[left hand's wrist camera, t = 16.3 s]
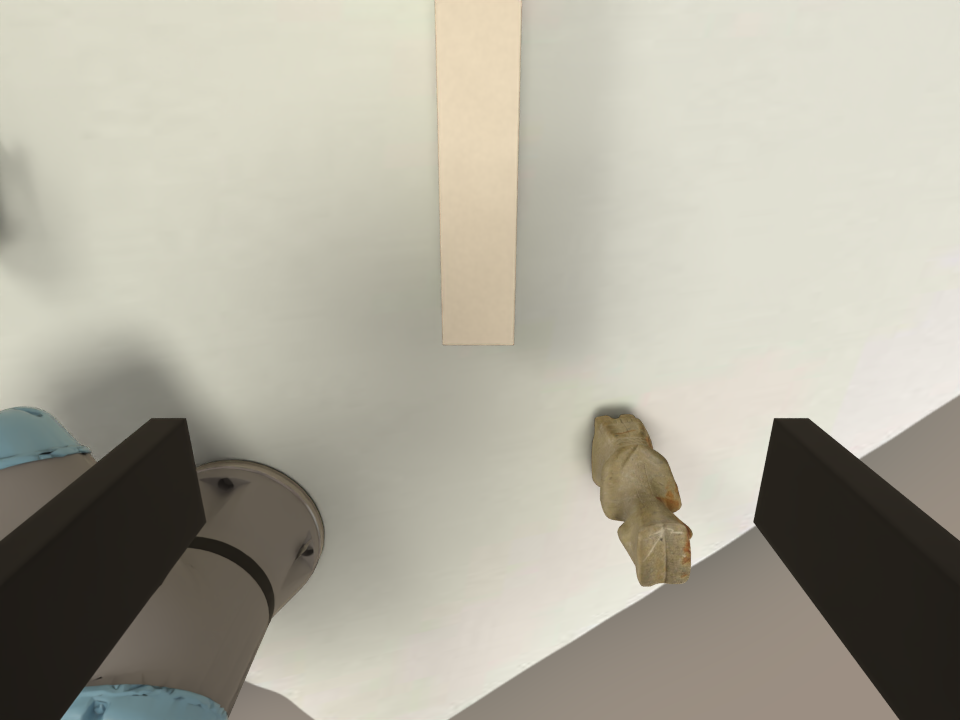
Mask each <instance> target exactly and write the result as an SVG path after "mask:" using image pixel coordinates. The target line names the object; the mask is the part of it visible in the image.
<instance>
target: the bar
mask: <svg viewBox="0 0 960 720" xmlns="http://www.w3.org/2000/svg"><path fill="white" fill-rule="evenodd" d="M521 19H522V0H435V34H436V78H437V121H438V165H439V209H440V253H441V296H442V340H443V345H514V322H515V279H516V236H517V192H518V149H519V106H520V62H521Z"/></svg>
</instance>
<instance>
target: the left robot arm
mask: <svg viewBox="0 0 960 720" xmlns="http://www.w3.org/2000/svg"><path fill="white" fill-rule="evenodd" d="M90 453H91V450H90V449H89V448H88V447H85V446H81V445H80V444H79V443H78V442H77V441H76V440H75V439H74V438H73V437H72V436H71V435H70V434H69V433H68V432H67V430H66V429H65V428H64V427H63V426H62V425H61V424H60V423H59V422H58V421H57V420H56V419H55V418H54V417H53V416H52V415H50V414H49V413H47V412H46V411H44V410H41V409H38V408H34V407H14V408H9V409H5V410H2V411H0V720H228V717H229V715H230V713H231V711H232V708H233V706H234V704H235V701H236V699H237V697H238V694H239V692H240V690H241V687H242V685H243V683H244V680H245V678H246V676H247V674H248V671H249V669H250V667H251V664H252V662H253V660H254V657H255V655H256V653H257V650H258V648H259V646H260V643H261V641H262V639H263V637H264V634H265V632H266V630H267V627H268V625H269V623H270V621H271V618H272V617H273V616H274V615H275V614H276V613H277V612H278V611H279V610H280V609H281V608H282V607H283V606H284V605H285V604H286V603H287V602H288V601H289V600H290V599H291V598H292V597H293V596H294V595H295V594H296V593H297V592H298V591H299V590H300V589H301V588H302V587H303V586H304V585H305V583H306V582H307V581H308V579H309V578H310V576H311V575H312V573H313V572H314V570H315V568H316V565H317V563H318V560H319V558H320V555H321V553H322V549H323V543H324V529H323V524H322V520H321V517H320V514H319V512H318V510H317V508H316V506H315V504H314V503H313V501H312V500H311V498H310V497H309V496H308V494H307V493H306V492H305V491H304V490H303V489H302V488H301V487H300V486H299V485H298V484H297V483H295V482H294V481H293V480H291V479H290V478H288V477H287V476H285V475H284V474H282V473H280V472H278V471H276V470H274V469H272V468H270V467H267V466H264V465H261V464H257V463H253V462H248V461H240V460H223V461H216V462H211V463H207V464H204V465H201V466H198V467H196V466H195V461H194V456H193V451H192V446H191V441H190V436H189V431H188V426H187V421H186V418H151V419H150V420H149V421H148V422H146V423H145V424H144V425H143V426H142V427H140V428H139V429H138V430H137V431H135V432H134V433H133V434H132V435H130V436H129V437H128V438H127V439H125V440H124V441H123V442H122V443H121V444H119V445H118V446H117V447H116V448H114V449H113V450H112V451H111V452H109V453H108V454H107V455H106V456H105V457H103V458H102V459H101V460H100V461H98V462H96V461H95V459H94V458H93V457H92V456H91V455H90ZM754 523H755V525H756V526H757V528H758V529H759V530H760V532H761V533H762V534H763V536H764V537H765V538H766V540H767V541H768V542H769V544H770V545H771V546H772V548H773V549H774V551H775V552H776V553H777V555H778V556H779V557H780V559H781V560H782V561H783V563H784V564H785V565H786V567H787V568H788V569H789V571H790V572H791V574H792V575H793V576H794V578H795V579H796V580H797V582H798V583H799V584H800V586H801V587H802V588H803V590H804V591H805V592H806V594H807V595H808V596H809V598H810V599H811V601H812V602H813V603H814V605H815V606H816V607H817V609H818V610H819V611H820V613H821V614H822V615H823V617H824V618H825V620H826V621H827V622H828V624H829V625H830V626H831V628H832V629H833V630H834V632H835V633H836V634H837V636H838V637H839V638H840V640H841V641H842V643H843V644H844V645H845V647H846V648H847V649H848V651H849V652H850V653H851V655H852V656H853V657H854V659H855V660H856V661H857V663H858V664H859V665H860V667H861V668H862V670H863V671H864V672H865V674H866V675H867V676H868V678H869V679H870V680H871V682H872V683H873V684H874V686H875V687H876V688H877V690H878V691H879V693H880V694H881V695H882V697H883V698H884V699H885V701H886V702H887V703H888V705H889V706H890V707H891V709H892V710H893V712H894V713H895V714H896V716H897V717H898V718H899V720H960V541H959V540H958V539H957V538H955V537H954V536H953V535H952V534H950V533H949V532H948V531H947V530H946V529H944V528H943V527H942V526H941V525H939V524H938V523H937V522H936V521H934V520H933V519H932V518H931V517H930V516H928V515H927V514H926V513H925V512H923V511H922V510H921V509H920V508H918V507H917V506H916V505H915V504H913V503H912V502H911V501H910V500H909V499H907V498H906V497H905V496H904V495H902V494H901V493H900V492H899V491H897V490H896V489H895V488H894V487H892V486H891V485H890V484H889V483H888V482H886V481H885V480H884V479H883V478H881V477H880V476H879V475H878V474H876V473H875V472H874V471H873V470H872V469H870V468H869V467H868V466H867V465H865V464H864V463H863V462H862V461H860V460H859V459H858V458H857V457H855V456H854V455H853V454H852V453H851V452H849V451H848V450H847V449H846V448H844V447H843V446H842V445H841V444H839V443H838V442H837V441H836V440H835V439H833V438H832V437H831V436H830V435H828V434H827V433H826V432H825V431H823V430H822V429H821V428H820V427H818V426H817V425H816V424H815V423H814V422H812V421H811V420H810V419H809V418H774V421H773V426H772V431H771V436H770V441H769V446H768V451H767V456H766V461H765V466H764V471H763V476H762V481H761V486H760V491H759V496H758V502H757V507H756V512H755V517H754Z"/></svg>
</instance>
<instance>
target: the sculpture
mask: <svg viewBox="0 0 960 720" xmlns="http://www.w3.org/2000/svg"><path fill="white" fill-rule="evenodd" d="M594 426H595V434H594V438H593V443H592V478H593V481H594V482H595V484H596V485H597V486H599V487H600V501H601V505H602V508H603V511H604V513H605V515H606V516H607V517H608V518H609V519H612V520H617V521H624V523H623V524H622V525H621V526H620V527H619V529H618V532H617V533H618V536H619V539H620V541H621V543H622V544H623V546H624V547H625V549H626V550H627V552H628V554H629V555H630V557H631V559H632V561H633V563H634V564H635V566H636V573H637V578H638V581H639V583H640V585H641V586H643V587H644V586H652V585H655V584H658V583H668V584H681V583H685V582H686V581H687V580H688V578H689V575H690V568H691V548H690V539H691V537H692V535H693V533H692V531H691V529H690V528H689V527H688V526H687V525H686V524H684V523H683V522H682V521H681V520H679V519H678V518H677V517H676V516H675V515H674V514H673V513H674V512H676V511H678V510H679V509H680V508H681V505H682V504H681V499H680V495H679V491H678V487H677V484H676V482H675V480H674V477H673V475H672V472H671V469H670V467H669V464H668V462H667V460H666V459H665V458H664V457H663V456H662V455H661V454H659V453H658V452H657V451H655V450H653V446H652V443H651V439H650V437H649V435H648V432H647V430H646V429H645V427H644V425H643V423H642V422H641V421H640V420H639V419H637V418H635V417H634V416H633V415H631V414H622V415H620V416H619V418H617V419H613V418H611V417H609V416H607V415H606V416H600V417H596V418H595V423H594Z"/></svg>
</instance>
